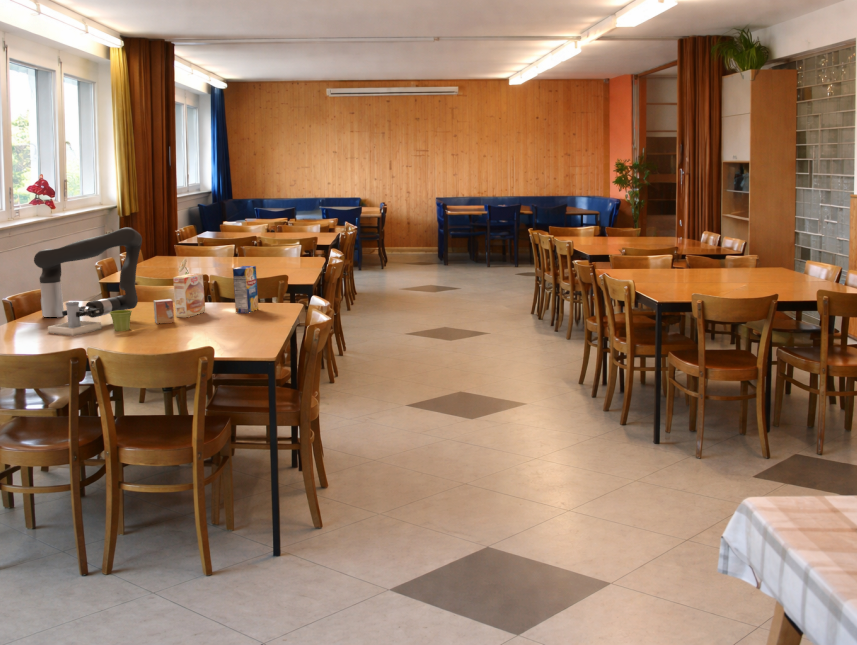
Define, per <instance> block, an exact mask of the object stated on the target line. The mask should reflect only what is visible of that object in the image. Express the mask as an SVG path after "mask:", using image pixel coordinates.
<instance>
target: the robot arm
mask: <svg viewBox="0 0 857 645" xmlns="http://www.w3.org/2000/svg"><path fill="white" fill-rule="evenodd" d="M142 243H143V238H142V235H141V233H139V232H138V231H137V230H136V229H134V228H133V227H123V228H119V229H117V230H115V231H112V232H109V233H106V234H102V235H96V236H94V237H88V238H85V239H81V240H78V241H75V242H72V243H69V244H66V245H63V246H61V247H58V248H46V249H42V250H39V251H38V252H37V253H36V254H35V255H34V256H33V257H34V258H33V262H34V264H35V266H36V267H38V268H40V269H41V270H42V271H41V275H40V276H39V286H40V295H41V297H40V305H41V313H42V315H41V316H42V317H43V316H44V317H57V318H62V317H65V316H67V309H66V310H65V308H64V298H63V291H62V290H63V289H62V282H61V277H62V264H64V263H69V262H75V261H81V260H82V261H83V260H88V259H90V258H91V259H92V258H96V257H98V256H100V255H101V254H103V253H105V251H107V250H109V249H112V248H117V247H122V246H123V247H125V259H124V263H123V264H122V267H121V270H120V276H119V289H120V290H122V291H124V292H125V294H122V295H118V296H115V297H114V296H113V297H108V298H102V299H96V300H95V299H94V300H91V301H87V302H86V304H85V305H81V306H79V312H76V317H80V318H81V317H90V318H97V317H98V318H99V317H102V316H107V315H109V314H110V313H109V312H111V311H117V310H132V309H134V308H136V307H137V306H138V305H137V304H138V302H139V298H138V293H137V290H136V277H137V266H138V262H139V257H140V252H141V247H142ZM44 317H43V318H44Z"/></svg>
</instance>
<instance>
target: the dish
mask: <svg viewBox="0 0 857 645" xmlns="http://www.w3.org/2000/svg"><path fill="white" fill-rule="evenodd" d="M80 323H81V327H76V328H69V326H68V321H67V322H63V323H57V324H54V325H49V326H47V332H48V333H54V334H53V335H58V334H61V335H60V336H67V335H70V336H71V337H74V336H75V335H76V336H79V334H80V335H84V334H88V333H92V332H96V331H100V330H99V329H101V330H102V323H101V322H98V321H89V320H80ZM95 330H96V331H95ZM91 331H92V332H91ZM87 332H88V333H87ZM48 333H47V334H48ZM83 333H84V334H83ZM70 336H69V337H70Z"/></svg>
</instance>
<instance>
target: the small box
mask: <svg viewBox="0 0 857 645" xmlns="http://www.w3.org/2000/svg"><path fill="white" fill-rule="evenodd" d="M153 312H154V313H153V314H154V323H156V325H160V324H169V323H170V324H172V322H174V323H175V311H174V301H173V300H172V299H171V298H167V299H158V300H154V299H153ZM159 323H160V324H159Z"/></svg>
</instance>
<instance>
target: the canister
mask: <svg viewBox="0 0 857 645" xmlns="http://www.w3.org/2000/svg"><path fill="white" fill-rule="evenodd" d="M79 304H80V302H79V301H68V302H65V306H66V310H67V315H66V316H67V322H68V326H69V328H76V327H81V323H80V321H81V317H76V312H79V307H80V305H79Z"/></svg>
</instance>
